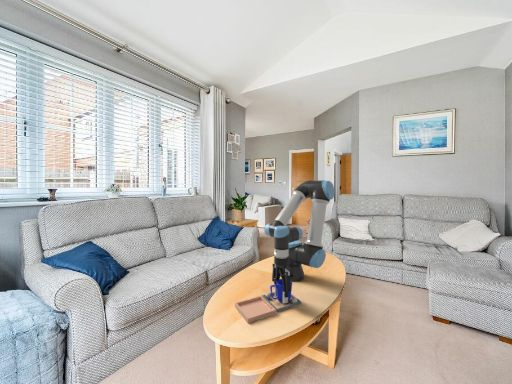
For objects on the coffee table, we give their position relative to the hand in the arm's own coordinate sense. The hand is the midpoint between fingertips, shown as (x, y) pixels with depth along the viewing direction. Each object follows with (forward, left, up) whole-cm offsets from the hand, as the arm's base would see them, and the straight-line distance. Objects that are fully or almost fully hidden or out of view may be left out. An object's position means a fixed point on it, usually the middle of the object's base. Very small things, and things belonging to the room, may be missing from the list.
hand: (281, 299), depth 121 cm
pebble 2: (-5, +5, -1) cm, 7 cm away
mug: (0, 0, -1) cm, 1 cm away
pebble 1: (+5, -5, -1) cm, 7 cm away
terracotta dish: (+16, +1, -1) cm, 16 cm away
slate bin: (0, 0, -1) cm, 1 cm away
